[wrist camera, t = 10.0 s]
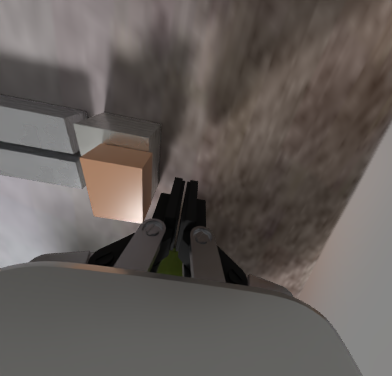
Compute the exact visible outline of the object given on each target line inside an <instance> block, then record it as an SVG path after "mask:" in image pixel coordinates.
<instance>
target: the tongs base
mask: <svg viewBox="0 0 392 376" xmlns="http://www.w3.org/2000/svg"><path fill="white" fill-rule="evenodd" d="M0 141H3V142H9V143H14V144H20V145H25V146H31V147H37V148H42V149H48V150H53V151H59V152H65V153H70V154H74V153H76V152H77V151H79V150H80V154H81V156H83V155H84V154H86V153H87V152H89V151H90V150H92V149H93V148H95V147H96V146H98V145H99V144H101V143H102V144H107V145H112V146H118V147H123V148H129V149H134V150H139V151H145V152H150V153H153V157H152V189H151V201H152V199H153V197H154V194H155V192H156V189H157V187H158V176H159V159H160V142H161V124H160V123H155V122H150V121H144V120H139V119H134V118H129V117H124V116H119V115H114V114H109V113H101V114H98V115H95V116H93V117H90V118H88V117H87V111H82V110H77V109H72V108H67V107H62V106H57V105H52V104H47V103H42V102H37V101H32V100H27V99H22V98H16V97H11V96H6V95H1V94H0Z"/></svg>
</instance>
